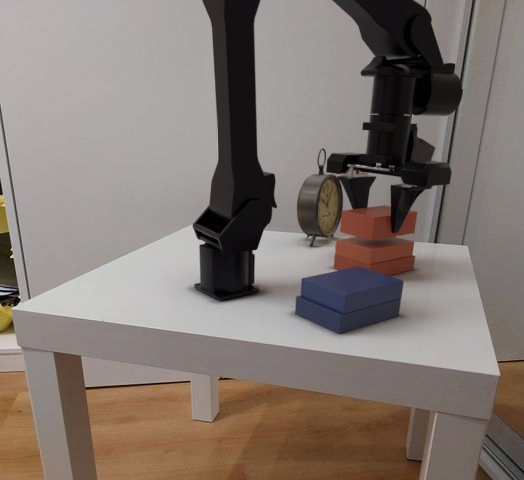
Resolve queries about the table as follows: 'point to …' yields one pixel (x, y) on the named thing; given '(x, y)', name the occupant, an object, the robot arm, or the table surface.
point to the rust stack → (375, 254)
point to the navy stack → (349, 298)
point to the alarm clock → (320, 204)
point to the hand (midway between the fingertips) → (377, 228)
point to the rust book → (374, 223)
